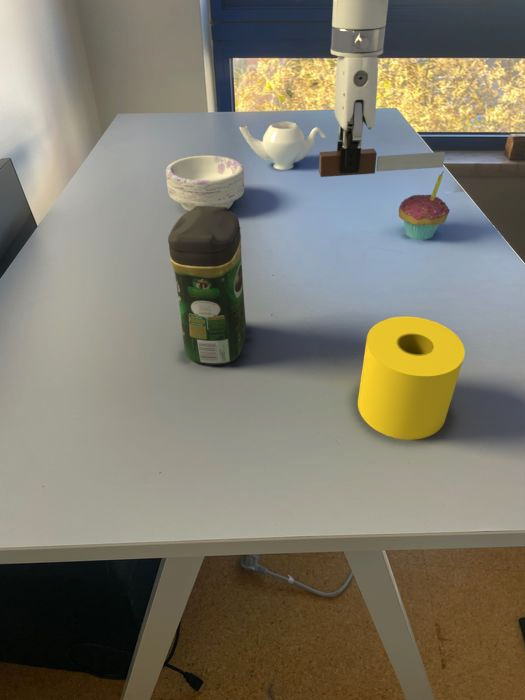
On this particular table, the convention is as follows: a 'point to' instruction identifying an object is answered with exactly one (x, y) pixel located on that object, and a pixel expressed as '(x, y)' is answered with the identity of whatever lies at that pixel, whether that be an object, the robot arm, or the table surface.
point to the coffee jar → (209, 283)
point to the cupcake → (423, 214)
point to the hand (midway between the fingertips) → (347, 168)
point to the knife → (379, 162)
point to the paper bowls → (205, 181)
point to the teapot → (282, 143)
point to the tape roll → (409, 376)
